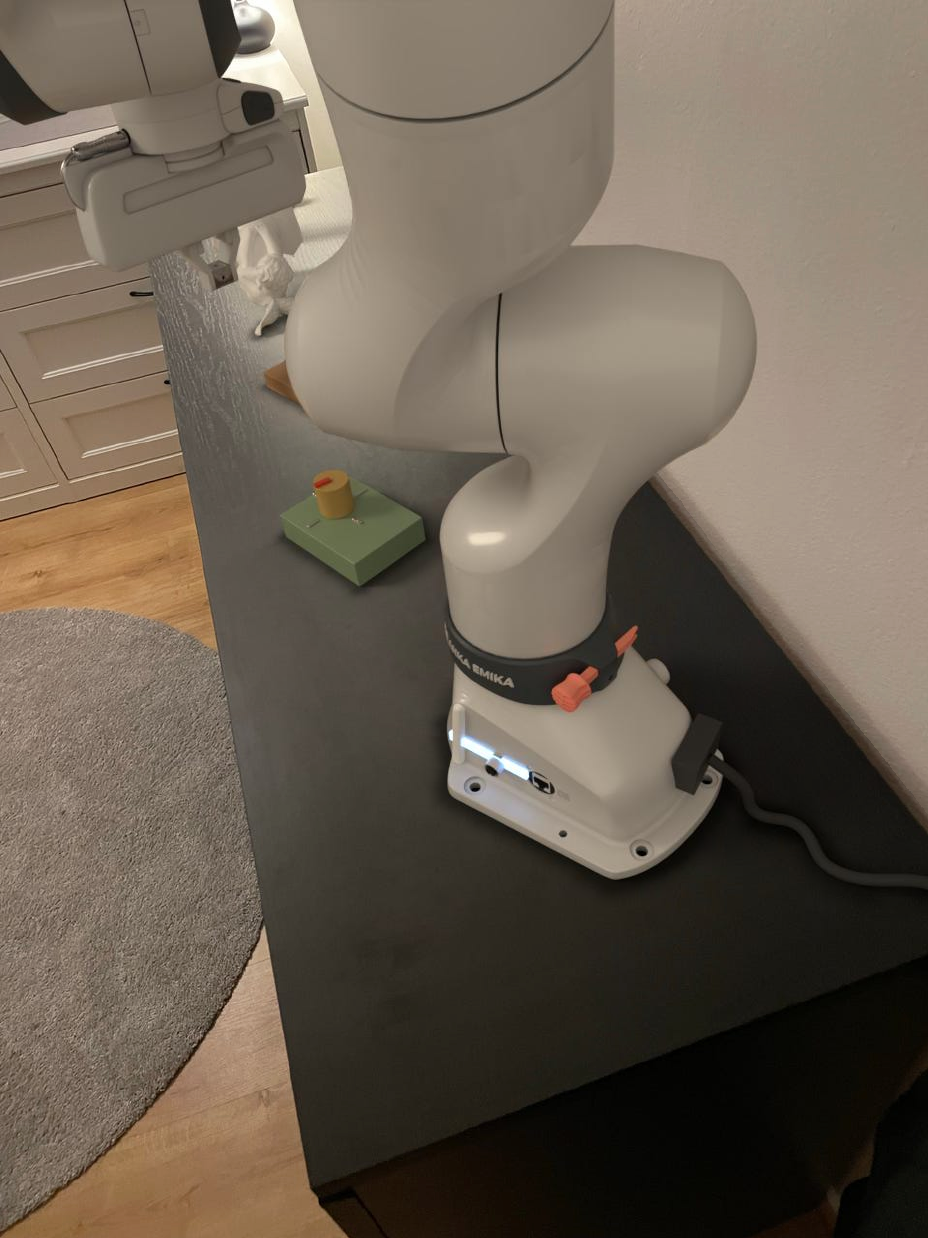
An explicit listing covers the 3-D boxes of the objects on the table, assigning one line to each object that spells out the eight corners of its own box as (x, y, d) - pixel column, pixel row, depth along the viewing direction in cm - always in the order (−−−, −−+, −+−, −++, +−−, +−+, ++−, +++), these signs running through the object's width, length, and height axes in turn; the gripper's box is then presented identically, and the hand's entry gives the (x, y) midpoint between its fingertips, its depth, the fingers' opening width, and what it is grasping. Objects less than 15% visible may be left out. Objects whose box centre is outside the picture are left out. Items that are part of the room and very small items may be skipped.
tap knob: (344, 492, 93) (337, 462, 90) (360, 509, 90) (354, 479, 88) (313, 506, 91) (305, 476, 89) (329, 523, 89) (322, 493, 86)
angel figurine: (299, 359, 129) (222, 324, 121) (272, 290, 141) (200, 253, 133) (349, 282, 123) (272, 239, 115) (316, 216, 135) (244, 173, 127)
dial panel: (426, 540, 91) (422, 515, 88) (359, 587, 87) (353, 563, 84) (351, 495, 97) (345, 471, 95) (286, 537, 93) (278, 513, 91)
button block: (374, 383, 113) (369, 355, 110) (319, 415, 109) (312, 386, 106) (320, 358, 119) (314, 330, 116) (267, 387, 115) (259, 359, 112)
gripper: (70, 158, 64) (135, 337, 74) (297, 87, 74) (329, 255, 83) (34, 144, 68) (100, 318, 77) (255, 79, 77) (290, 241, 87)
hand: (221, 285), depth 80 cm, fingers closed
